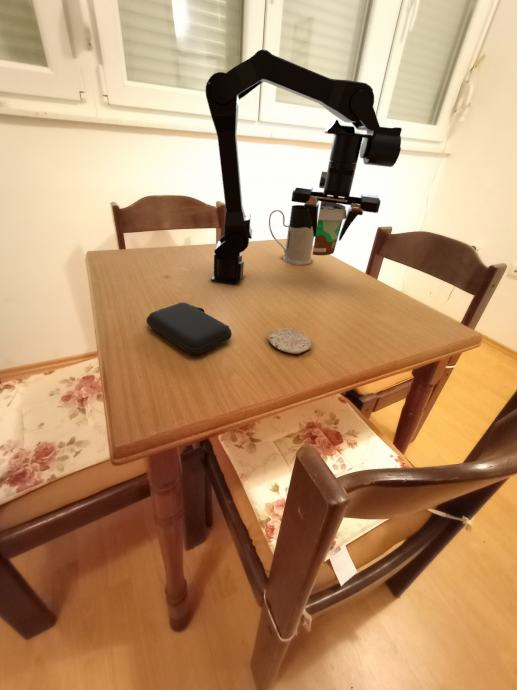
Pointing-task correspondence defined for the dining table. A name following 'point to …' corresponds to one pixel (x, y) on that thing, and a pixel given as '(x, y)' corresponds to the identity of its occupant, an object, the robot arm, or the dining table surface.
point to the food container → (328, 227)
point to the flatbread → (290, 340)
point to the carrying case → (189, 328)
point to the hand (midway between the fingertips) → (327, 238)
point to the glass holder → (298, 236)
